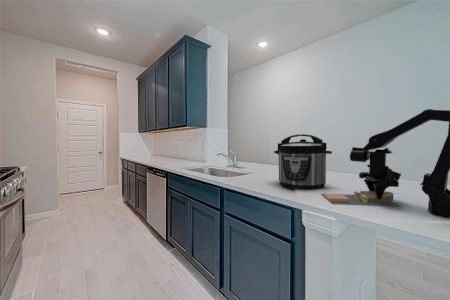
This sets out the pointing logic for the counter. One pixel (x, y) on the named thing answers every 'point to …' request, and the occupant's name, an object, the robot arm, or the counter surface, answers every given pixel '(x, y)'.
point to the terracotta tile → (336, 197)
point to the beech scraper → (373, 196)
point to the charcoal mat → (356, 202)
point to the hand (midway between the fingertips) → (376, 197)
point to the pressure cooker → (302, 163)
